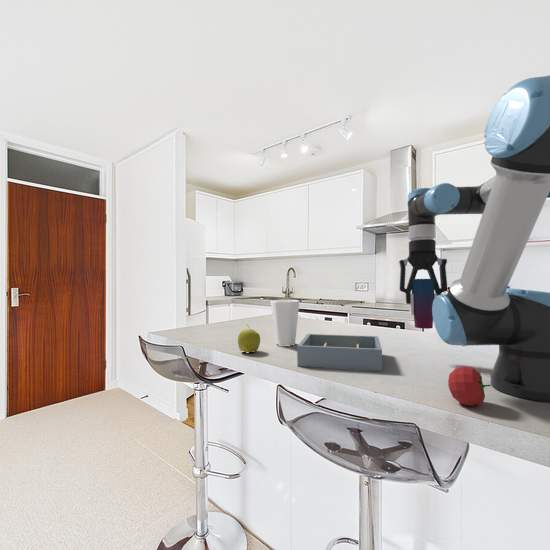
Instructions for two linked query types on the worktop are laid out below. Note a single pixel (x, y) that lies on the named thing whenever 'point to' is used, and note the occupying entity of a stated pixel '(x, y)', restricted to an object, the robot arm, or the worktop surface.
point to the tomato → (466, 386)
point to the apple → (248, 340)
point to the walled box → (340, 352)
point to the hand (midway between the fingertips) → (423, 314)
